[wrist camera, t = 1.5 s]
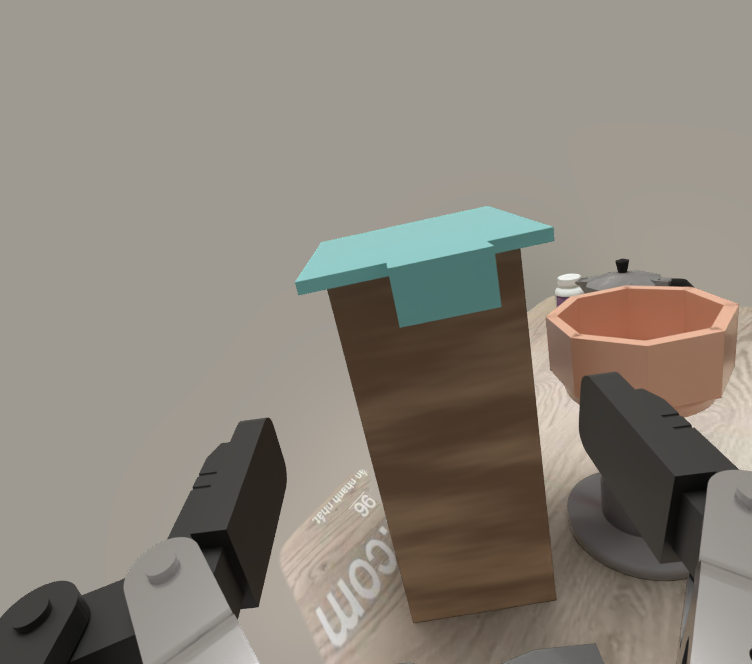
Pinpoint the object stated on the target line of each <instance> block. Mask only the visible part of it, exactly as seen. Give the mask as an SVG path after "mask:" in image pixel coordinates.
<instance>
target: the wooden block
mask: <svg viewBox="0 0 752 664" xmlns="http://www.w3.org/2000/svg"><path fill="white" fill-rule="evenodd" d="M495 258H496V266H497V274H498V282H499V291H500V299H501V307H499V308H494V309H489V310H484V311H479V312H474V313H469V314H465V315H460V316H455V317H450V318H445V319H440V320H435V321H430V322H425V323H421V324H416V325H411V326H406V327H401V328H400V326H399V322H398V317H397V312H396V307H395V302H394V298H393V293H392V288H391V283H390V278H389V276H387V277H383V278H378V279H373V280H368V281H364V282H359V283H354V284H350V285H345V286H340V287H335V288H331V289H327V291H328V294H329V298H330V302H331V306H332V310H333V313H334V318H335V321H336V325H337V329H338V333H339V337H340V341H341V345H342V348H343V352H344V356H345V360H346V364H347V368H348V372H349V375H350V379H351V383H352V387H353V391H354V395H355V398H356V402H357V406H358V410H359V414H360V418H361V421H362V426H363V430H364V433H365V437H366V441H367V445H368V449H369V453H370V457H371V461H372V464H373V468H374V472H375V476H376V480H377V483H378V487H379V491H380V495H381V499H382V503H383V507H384V511H385V515H386V518H387V522H388V526H389V530H390V534H391V538H392V542H393V546H394V549H395V553H396V557H397V561H398V565H399V569H400V573H401V576H402V580H403V584H404V588H405V592H406V596H407V600H408V603H409V607H410V611H411V615H412V619H413V623H417V622H423V621H429V620H435V619H441V618H447V617H454V616H460V615H466V614H472V613H478V612H484V611H490V610H497V609H503V608H509V607H515V606H521V605H527V604H533V603H539V602H546V601H552V600H556V594H555V584H554V574H553V564H552V554H551V545H550V535H549V525H548V515H547V505H546V495H545V486H544V476H543V466H542V456H541V446H540V437H539V427H538V417H537V407H536V397H535V387H534V378H533V368H532V358H531V348H530V338H529V329H528V319H527V309H526V299H525V289H524V279H523V270H522V261H521V250H520V248H519V249H515V250H510V251H505V252H500V253H496V254H495Z"/></svg>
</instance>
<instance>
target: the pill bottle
mask: <svg viewBox="0 0 752 664" xmlns="http://www.w3.org/2000/svg"><path fill="white" fill-rule="evenodd" d="M579 279H581V276H580V275H578V274H566V275H562V276H560V277H558V285H559V287H558V288H557V289H556V291H555V300H556V308H557V307H558V306H560V305H561V304H562V303H563V302H564V301H566V300H567V299H568V298H569V297H572V296H576V295H581V294H585V293H584V292H583V290H582V289H581V288H580V286H579V285H577V284H575V282H576V281H578V280H579Z"/></svg>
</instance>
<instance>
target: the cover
mask: <svg viewBox="0 0 752 664" xmlns="http://www.w3.org/2000/svg"><path fill="white" fill-rule="evenodd" d="M552 241H554V229H553V227H552V226H549V225H546V224H542V223H539V222H536V221H533V220H530V219H527V218H524V217H521V216H518V215H514V214H511V213H508V212H505V211H502V210H499V209H496V208H493V207H489V206H485V207H481V208H476V209H471V210H467V211H462V212H458V213H453V214H449V215H444V216H439V217H435V218H430V219H426V220H421V221H417V222H412V223H407V224H403V225H398V226H394V227H389V228H385V229H380V230H375V231H371V232H366V233H362V234H358V235H353V236H348V237H343V238H339V239H334V240H330V241H326V242H321V244H320V245H319V247H318V248H317V250H316V251H315V253H314V255H313V256H312V258H311V259H310V261H309V262H308V264H307V265H306V266H305V268H304V269H303V271H302V272H301V274H300V276H299V277H298V278H297V280H296V281H295V284H296V287H297V291H298V295H302V294H307V293H312V292H316V291H321V290H326V289H331V288H335V287H340V286H345V285H350V284H354V283H359V282H364V281H368V280H373V279H378V278H383V277H387V276H389V278H390V283H391V288H392V293H393V298H394V302H395V307H396V312H397V317H398V322H399V326H400V328H401V327H406V326H411V325H416V324H421V323H425V322H430V321H435V320H440V319H445V318H450V317H455V316H460V315H465V314H469V313H474V312H479V311H484V310H489V309H494V308H499V307H501V299H500V291H499V282H498V274H497V266H496V258H495V254H496V253H500V252H505V251H510V250H515V249H519V248H524V247H529V246H533V245H538V244H543V243H548V242H552Z"/></svg>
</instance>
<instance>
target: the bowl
mask: <svg viewBox="0 0 752 664" xmlns="http://www.w3.org/2000/svg"><path fill="white" fill-rule="evenodd" d="M738 313H739V304H736V303H734V302H731V301H728V300H726V299H723V298H720V297H718V296H715V295H712V294H709V293H707V292H704V291H701V290H699V289H696V288H693V287H669V286H629V285H625V286H621V287H616V288H611V289H606V290H601V291H596V292H591V293H586V294H581V295H576V296H572V297H569V298H568V299H567V300H566V301H564V302H563V303H562V304H561V305H560V306H558V307H557V308H556V309H555V310H553V311H552V312H551V313H550V314H548V315H547V316H546V326H547V337H548V349H549V360H550V370H551V371H552V372H553V373H554V374H555V375H556V377H557V378H558V379H559V380H560V381H561V382H562V383H563V384H564V386H565V388H566V391H567V393H568V394H569V396H570V397H571V398H572V399H573V400H574V401H575V402H577V403H578V404H579V405H580V390H581V380H582V378H583V376H586V375H593V374H601V373H608V372H618V373H619V374H620V375H621V376H622V377H623V378H624V379H625V380H626V381H627V382H628V383H629V384H630V385H631V386H632V387H633V388H634V389H642V388H643V389H645V390H647V391H649V392H651V393H653V394H655V395H657V396H659V397H661V398H663V399H665V400H666V401H667V402H668V403H669V404H670V405H671V406H672V407H673V408H674V409H675V410H676V411H677V412H678V413H679V415H680V416H683V417H688V416H691V415H694V414H697V413H699V412H701V411H703V410H705V409H707V408H708V407H710V406H711V405H712V404H713V403H714V402H715V400H716V399H718V398H721V397H722V395H723V392H724V390H725V388H726V385H727V383H728V381H729V378H730V376H731V374H732V371H733V369H734V367H735V356H736V341H737V327H738ZM568 517H569V525H570V528H571V531H572V533H573V535H574V537H575V538H576V540H577V541H578V543H579V544H580V545H581V546H582V547H583V549H585V550H586V551H587V552H588V553H589V554H590V555H591V556H593V557H594V558H595V559H596V560H598V561H599V562H601V563H603V564H604V565H606V566H608V567H610V568H612V569H614V570H616V571H619V572H621V573H624V574H627V575H630V576H633V577H637V578H642V579H647V580H656V581H672V580H680V579H685V578H688V575H689V571H688V570H687V568H686V567H685V566H684V564H683V563H682V562H674V563H665V564H660V563H659V562H658V560H657V559H656V557H655V556H654V554H653V553H652V551H651V550H650V548H649V547H648V545H647V544H646V542H645V540H644V539H643V537H642V536H641V534H640V533H639V531H638V530H637V528H636V527H635V525H634V524H633V522H632V521H631V519H630V518H629V516H628V515H627V513H626V512H625V510H624V508H623V507H622V505H621V504H620V502H619V501H618V499H617V498H616V496H615V495H614V493H613V492H612V490H611V489H610V487H609V486H608V484H607V483H606V481H605V480H604V478H603V476H602V475H601V473H600V472H599V473H596V474H593V475H591V476H589V477H586V478H585V479H583V480H582V481H580V482H579V483H578V484H577V485H576V486H575V487H574V488H573V489H572V491H571V493H570V495H569V498H568Z"/></svg>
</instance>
